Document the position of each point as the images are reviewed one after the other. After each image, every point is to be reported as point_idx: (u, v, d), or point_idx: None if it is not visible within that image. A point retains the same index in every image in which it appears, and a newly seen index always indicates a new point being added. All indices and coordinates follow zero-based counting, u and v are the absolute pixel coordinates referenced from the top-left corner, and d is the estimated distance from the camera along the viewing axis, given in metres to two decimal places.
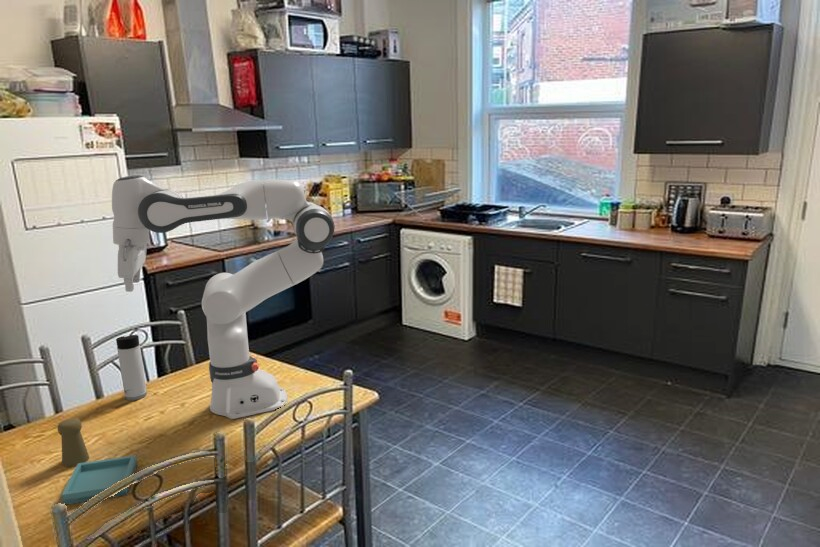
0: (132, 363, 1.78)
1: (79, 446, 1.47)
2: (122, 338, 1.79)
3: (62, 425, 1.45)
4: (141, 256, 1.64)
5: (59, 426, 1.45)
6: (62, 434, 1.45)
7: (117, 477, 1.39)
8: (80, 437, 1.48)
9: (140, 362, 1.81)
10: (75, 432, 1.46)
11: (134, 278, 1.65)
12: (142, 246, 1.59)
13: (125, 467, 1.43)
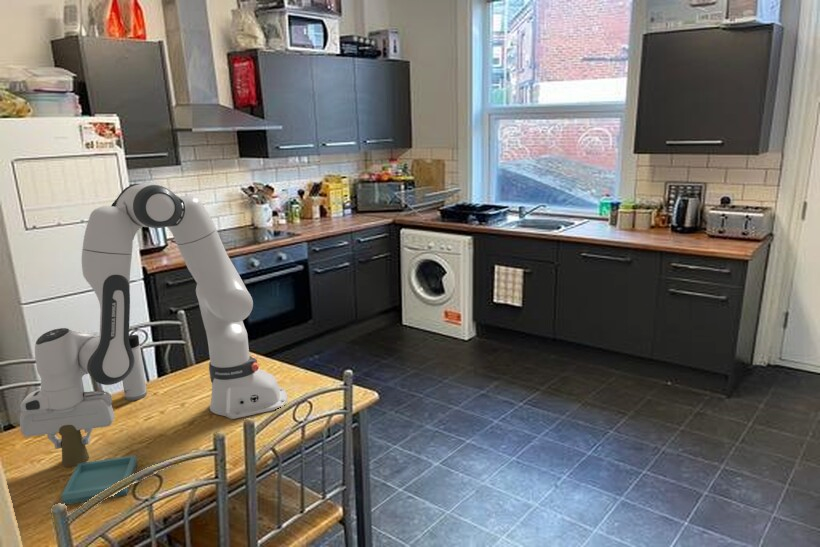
0: None
1: (79, 446, 1.47)
2: None
3: None
4: None
5: None
6: (62, 434, 1.45)
7: (117, 477, 1.39)
8: (80, 437, 1.48)
9: (140, 362, 1.81)
10: (75, 432, 1.46)
11: (61, 443, 1.47)
12: None
13: (125, 467, 1.43)
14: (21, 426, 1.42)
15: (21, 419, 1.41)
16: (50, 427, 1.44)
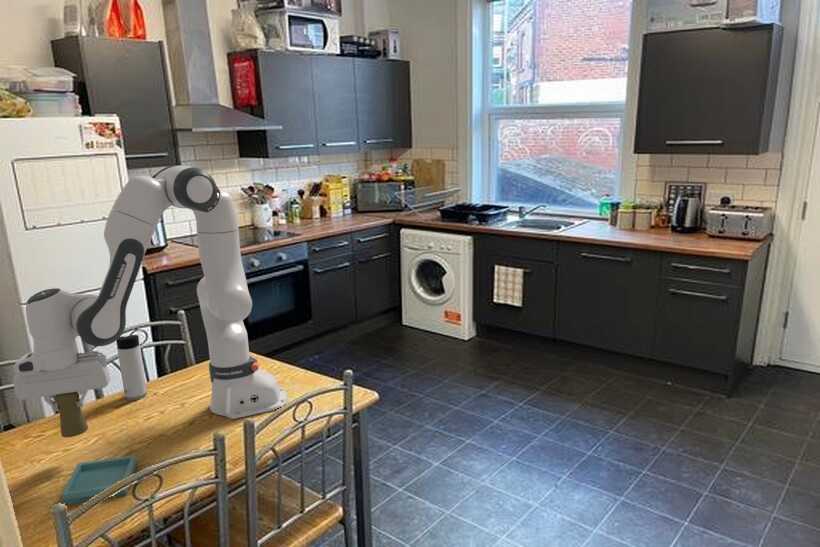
0: (132, 363, 1.78)
1: (77, 417, 1.46)
2: (122, 338, 1.79)
3: (59, 395, 1.43)
4: None
5: (56, 396, 1.43)
6: (59, 404, 1.43)
7: (117, 477, 1.39)
8: None
9: (140, 362, 1.81)
10: (73, 402, 1.44)
11: (58, 405, 1.45)
12: None
13: (125, 467, 1.43)
14: (15, 388, 1.40)
15: (15, 381, 1.39)
16: (45, 389, 1.42)
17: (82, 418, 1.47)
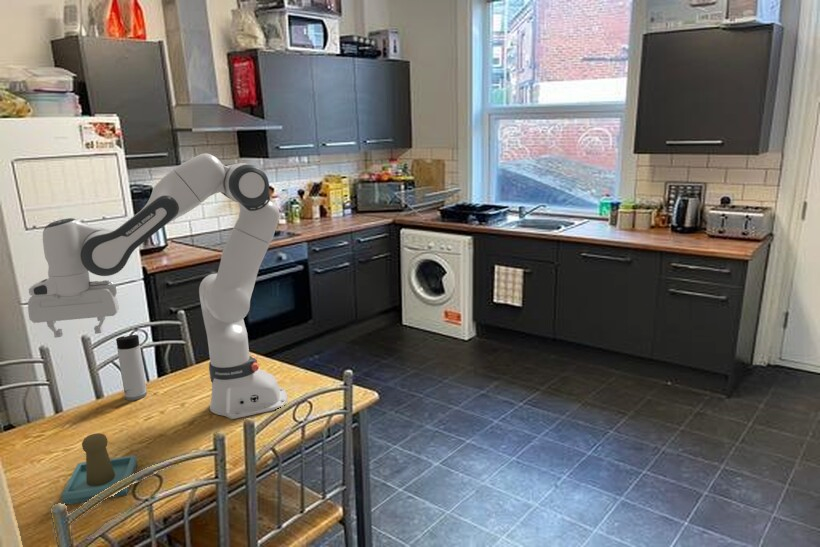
0: (132, 363, 1.78)
1: (104, 464, 1.37)
2: (122, 338, 1.79)
3: (87, 441, 1.35)
4: None
5: (84, 442, 1.35)
6: (87, 451, 1.34)
7: (117, 477, 1.39)
8: (106, 454, 1.37)
9: (140, 362, 1.81)
10: (101, 449, 1.35)
11: (60, 332, 1.52)
12: None
13: (125, 467, 1.43)
14: (29, 311, 1.47)
15: (29, 304, 1.47)
16: (57, 314, 1.49)
17: (109, 465, 1.38)
